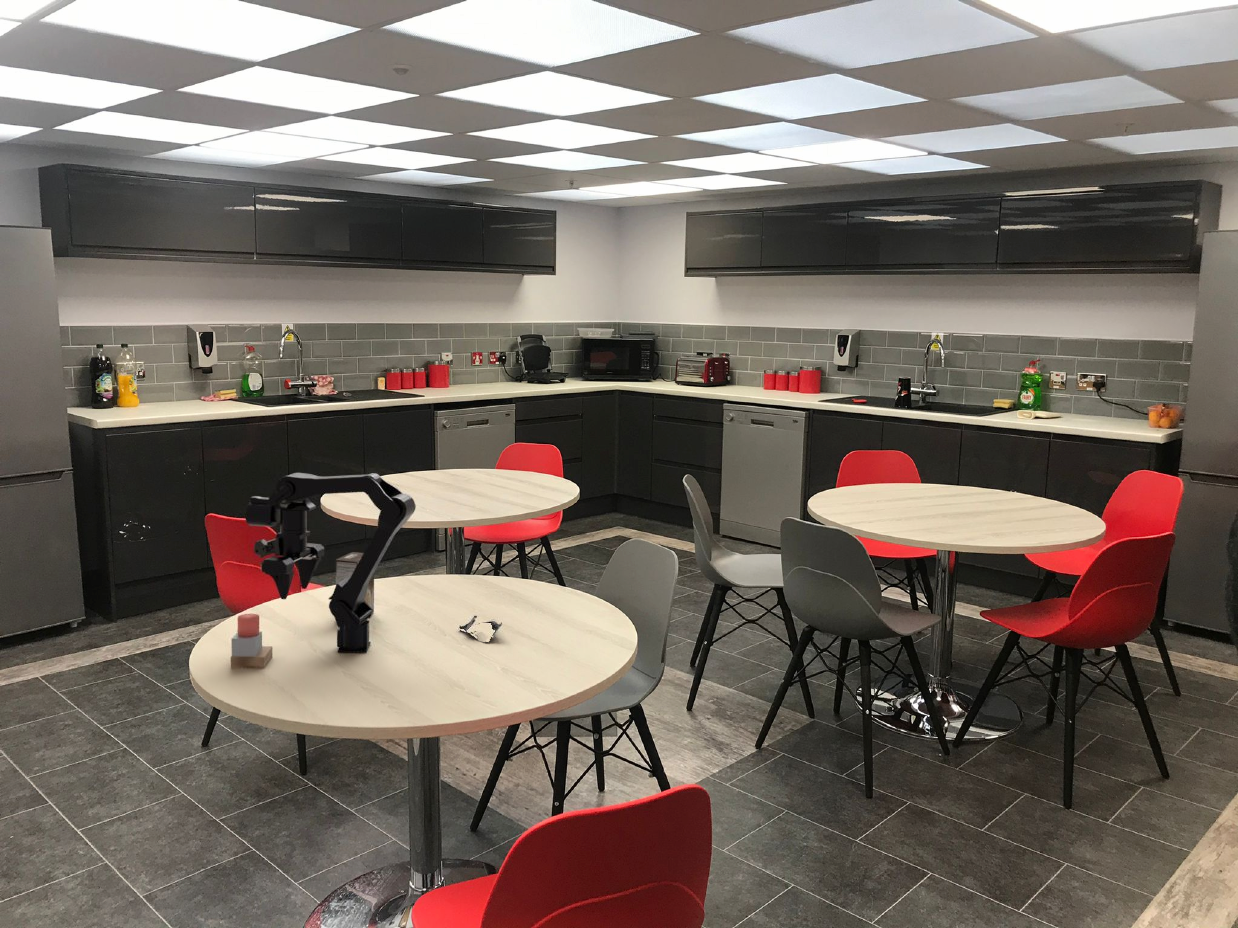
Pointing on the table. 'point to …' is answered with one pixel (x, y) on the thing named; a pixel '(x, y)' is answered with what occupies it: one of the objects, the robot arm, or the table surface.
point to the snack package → (494, 624)
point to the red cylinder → (248, 625)
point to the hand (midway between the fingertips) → (294, 593)
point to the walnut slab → (253, 659)
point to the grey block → (246, 646)
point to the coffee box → (346, 569)
